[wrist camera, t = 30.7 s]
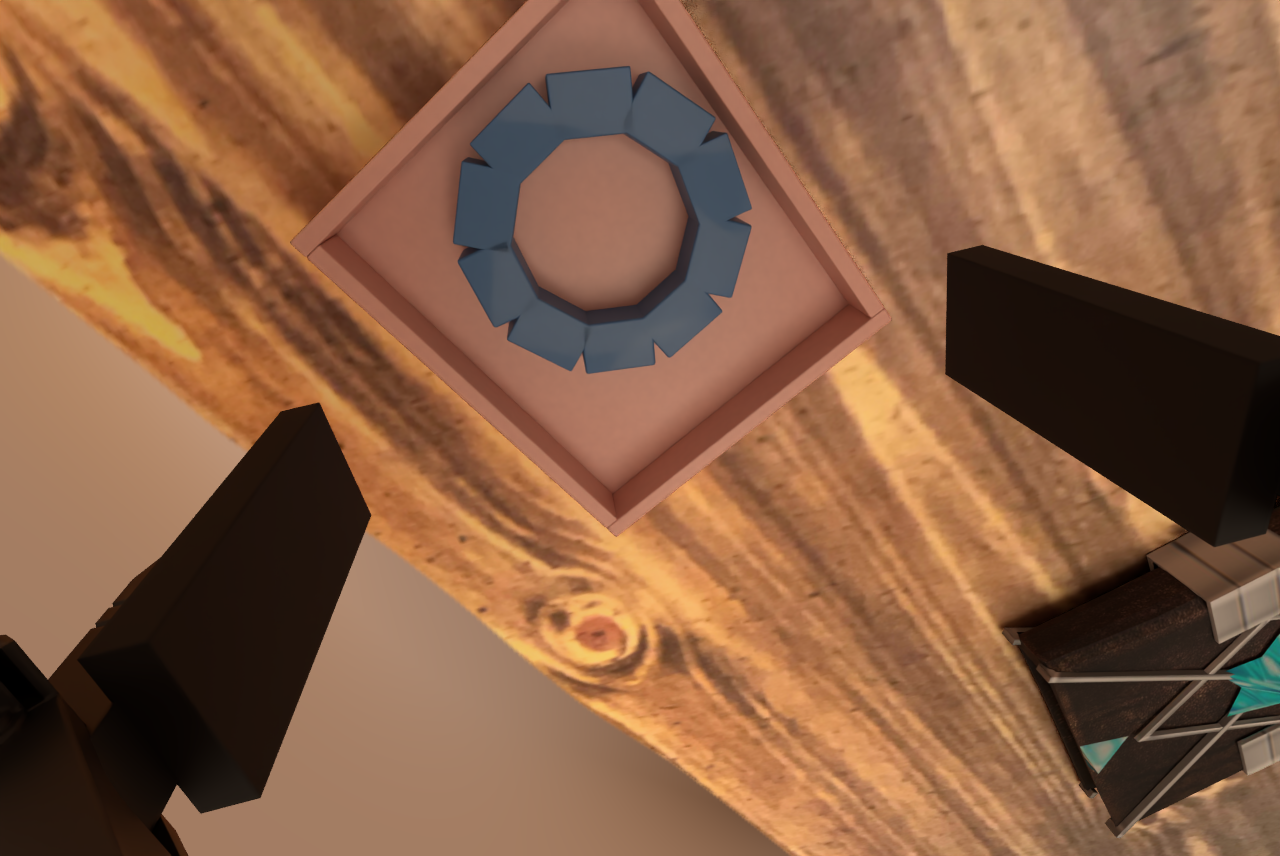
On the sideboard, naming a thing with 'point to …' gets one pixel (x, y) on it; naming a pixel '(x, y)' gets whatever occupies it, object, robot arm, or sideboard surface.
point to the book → (1168, 675)
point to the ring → (702, 181)
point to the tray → (598, 262)
